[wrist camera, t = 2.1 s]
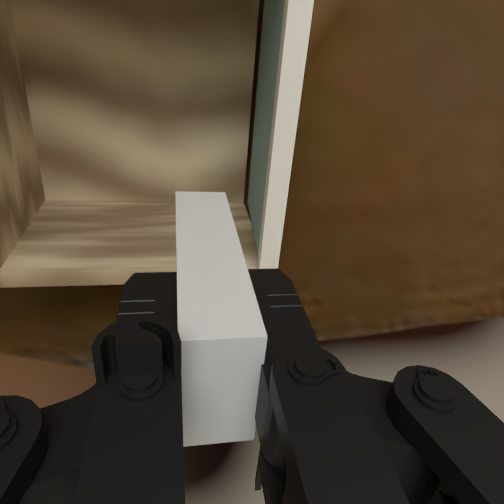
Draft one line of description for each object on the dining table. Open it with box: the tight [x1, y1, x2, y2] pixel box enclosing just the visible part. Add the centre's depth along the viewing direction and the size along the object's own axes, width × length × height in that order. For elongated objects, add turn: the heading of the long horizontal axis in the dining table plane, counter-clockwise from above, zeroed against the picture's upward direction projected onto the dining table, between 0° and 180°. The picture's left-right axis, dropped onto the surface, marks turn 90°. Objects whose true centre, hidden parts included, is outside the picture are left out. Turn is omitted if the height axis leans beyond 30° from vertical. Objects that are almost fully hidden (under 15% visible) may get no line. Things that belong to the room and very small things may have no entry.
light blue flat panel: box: [247, 0, 314, 269], centre depth 28 cm, size 18×1×13 cm, turn 175°
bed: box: [0, 0, 259, 288], centre depth 27 cm, size 20×18×12 cm
